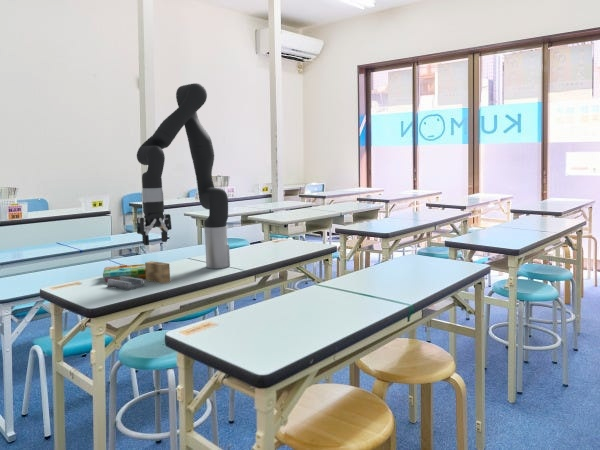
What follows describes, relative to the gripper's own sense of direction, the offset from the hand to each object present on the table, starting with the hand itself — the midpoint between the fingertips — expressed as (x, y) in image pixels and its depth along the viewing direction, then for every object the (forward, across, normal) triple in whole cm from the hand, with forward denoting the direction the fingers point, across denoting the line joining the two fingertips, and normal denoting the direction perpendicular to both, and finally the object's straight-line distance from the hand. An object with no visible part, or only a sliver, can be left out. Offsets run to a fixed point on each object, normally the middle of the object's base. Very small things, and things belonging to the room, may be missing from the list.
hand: (155, 243), depth 191 cm
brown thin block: (+14, 0, 0) cm, 15 cm away
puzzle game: (+15, +1, -14) cm, 21 cm away
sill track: (+14, +11, -4) cm, 19 cm away
